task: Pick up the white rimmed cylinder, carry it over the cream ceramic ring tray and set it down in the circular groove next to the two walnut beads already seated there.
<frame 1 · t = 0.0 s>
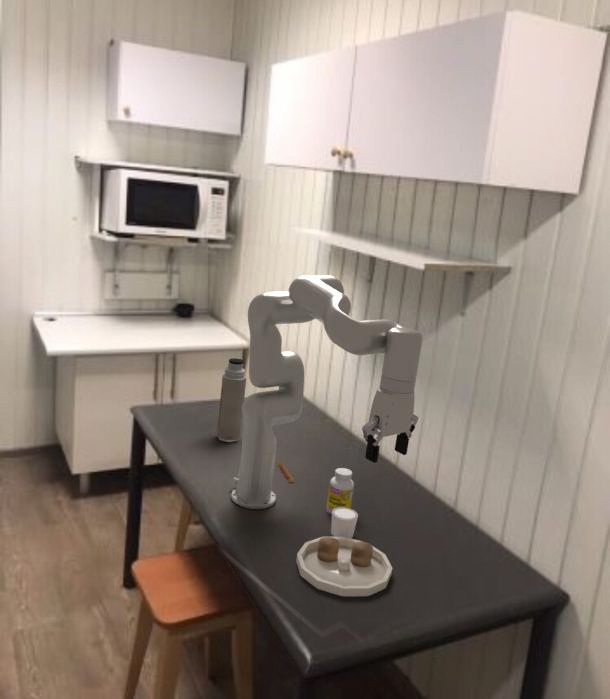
hand: (386, 456, 154), 31 cm above the table, fingers open, 9 cm apart
thermos bottle: (228, 438, 235), on the table
bead b: (327, 556, 167), point 1 cm above the table, touching tray
chocolate bar: (285, 475, 213), on the table
supplement bottle: (337, 514, 192), on the table
white rimmed cylinder: (341, 538, 179), on the table
tray: (342, 572, 164), on the table
bead a: (360, 561, 167), point 1 cm above the table, touching tray
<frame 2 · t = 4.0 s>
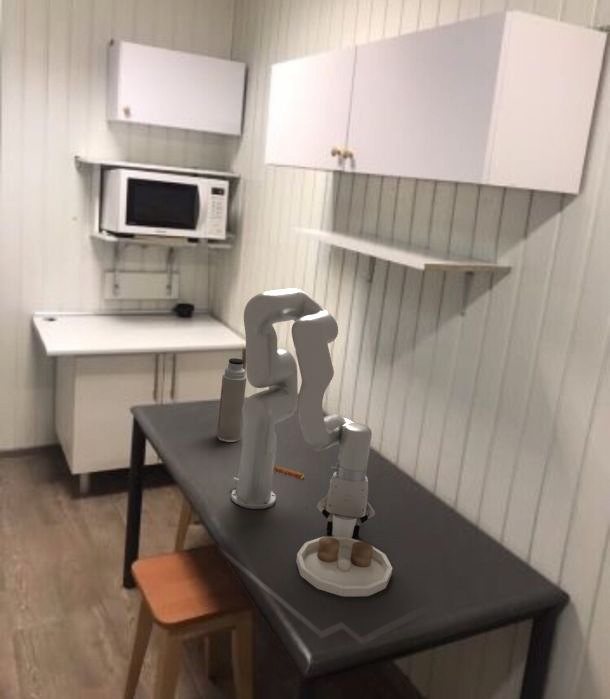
hand: (342, 534, 179), 1 cm above the table, fingers closed on white rimmed cylinder, 5 cm apart
white rimmed cylinder: (341, 537, 179), on the table, touching gripper
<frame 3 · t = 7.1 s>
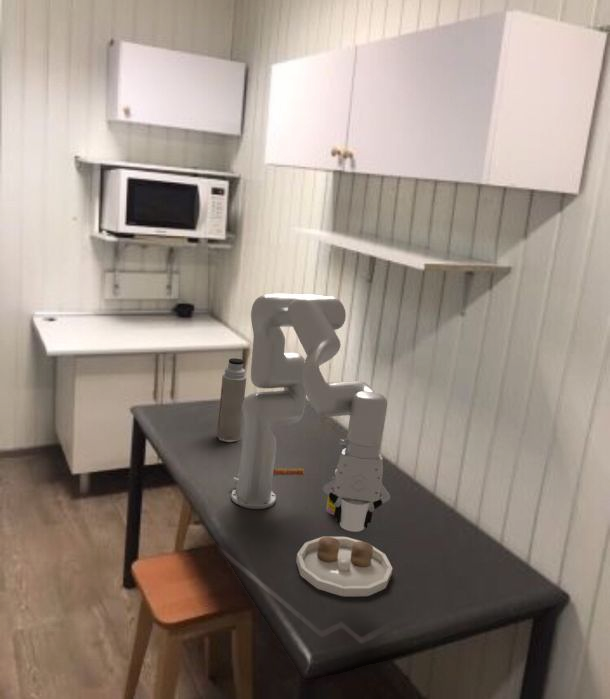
hand: (351, 522, 154), 16 cm above the table, fingers closed on white rimmed cylinder, 5 cm apart
white rimmed cylinder: (351, 526, 154), point 15 cm above the table, touching gripper
when the fingers open (3 cm above the table, at t = 10.2 s): white rimmed cylinder drops 2 cm, resting on tray.
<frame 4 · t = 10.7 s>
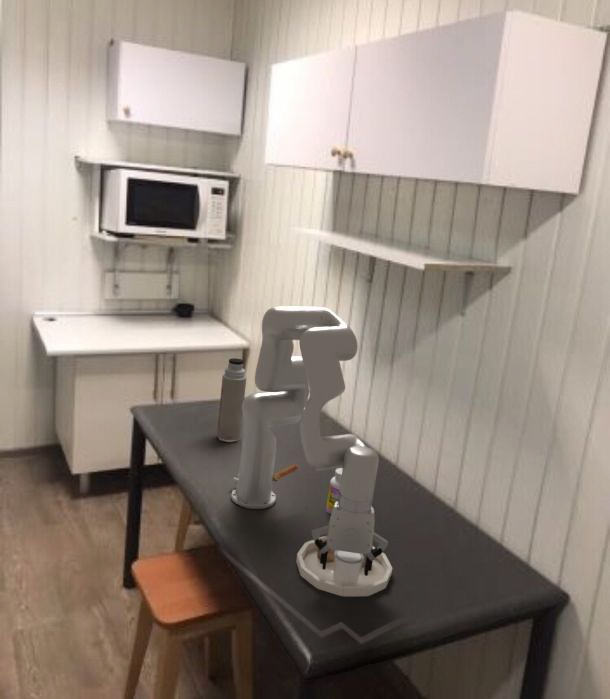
hand: (344, 569, 157), 4 cm above the table, fingers open, 9 cm apart
white rimmed cylinder: (344, 582, 158), point 1 cm above the table, touching tray
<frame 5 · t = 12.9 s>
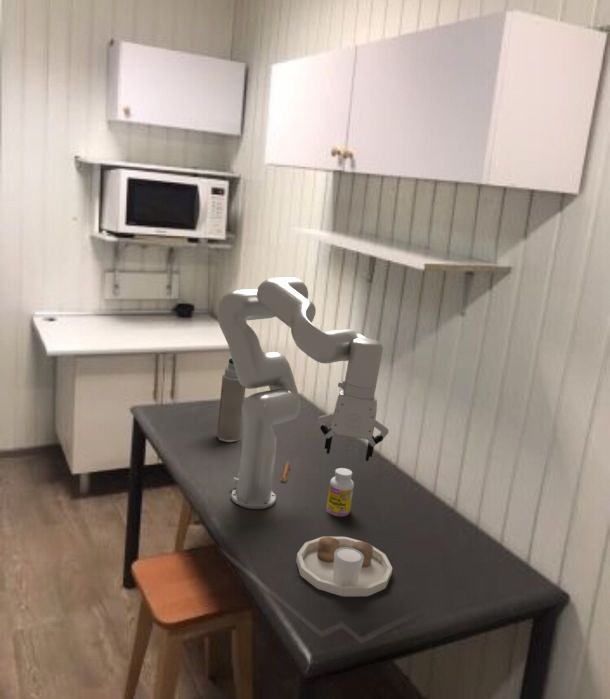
hand: (347, 455, 168), 25 cm above the table, fingers open, 9 cm apart
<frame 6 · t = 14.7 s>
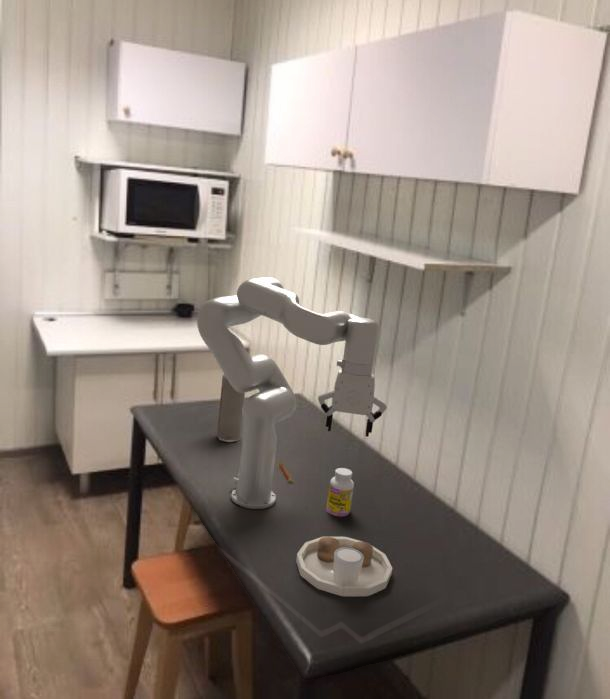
hand: (348, 432, 175), 28 cm above the table, fingers open, 9 cm apart
at the end: white rimmed cylinder 5.6 cm from the tray (horizontally); white rimmed cylinder point 0.8 cm above the table; white rimmed cylinder tilted 0° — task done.
